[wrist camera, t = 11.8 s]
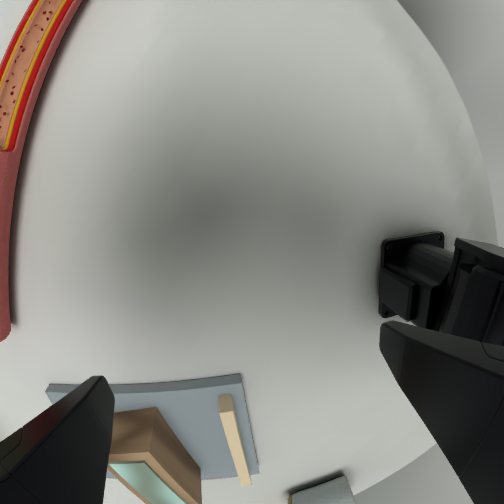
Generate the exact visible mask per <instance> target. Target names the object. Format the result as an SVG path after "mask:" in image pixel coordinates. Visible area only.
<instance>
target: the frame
mask: <svg viewBox="0 0 504 504" xmlns="http://www.w3.org/2000/svg"><path fill="white" fill-rule="evenodd" d="M107 469H108V470H109V471H110V472H111V473H112V474H113V475H114V476H115V477H116V478H117V479H118V480H119V481H120V482H121V483H122V484H123V485H125V486H126V487H127V488H128V489H129V490H130V491H131V492H133V493H134V494H135V495H136V496H137V497H138V498H140V499H141V500H142V501H143V502H144V503H146V504H202V495H201V468H200V467H199V466H198V464H197V463H196V462H195V461H194V459H193V458H192V457H191V455H190V454H189V453H188V452H187V450H186V449H185V447H184V446H183V445H182V443H181V442H180V441H179V439H178V438H177V436H176V435H175V434H174V432H173V431H172V429H171V428H170V426H169V425H168V424H167V422H166V421H165V419H164V418H163V416H162V415H161V413H160V412H159V410H158V408H157V407H150V408H143V409H136V410H129V411H122V412H114V419H113V434H112V442H111V448H110V454H109V461H108V467H107Z"/></svg>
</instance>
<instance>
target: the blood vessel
mask: <svg viewBox="0 0 504 504" xmlns="http://www.w3.org/2000/svg"><path fill="white" fill-rule="evenodd" d="M81 2H82V0H32V2H31V4H30V5H29V7H28V9H27V11H26V12H25V14H24V16H23V18H22V20H21V22H20V23H19V25H18V27H17V29H16V31H15V33H14V35H13V37H12V39H11V41H10V44H9V46H8V48H7V50H6V52H5V55H4V57H3V59H2V62H1V64H0V342H1V341H3V340H4V339H6V337H7V336H8V335H9V333H10V331H11V322H10V309H9V284H8V265H9V240H10V226H11V216H12V207H13V199H14V192H15V186H16V180H17V174H18V169H19V164H20V159H21V155H22V150H23V146H24V142H25V138H26V134H27V130H28V127H29V123H30V120H31V116H32V113H33V110H34V106H35V103H36V100H37V97H38V95H39V92H40V89H41V86H42V83H43V81H44V78H45V76H46V73H47V71H48V68H49V66H50V63H51V61H52V59H53V56H54V54H55V52H56V50H57V47H58V45H59V43H60V41H61V39H62V37H63V35H64V33H65V31H66V29H67V27H68V25H69V23H70V21H71V19H72V18H73V16H74V14H75V12H76V10H77V9H78V7H79V5H80V4H81Z"/></svg>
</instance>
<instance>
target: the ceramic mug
mask: <svg viewBox="0 0 504 504" xmlns="http://www.w3.org/2000/svg"><path fill="white" fill-rule="evenodd" d="M288 504H356V501H355V498H354V496H353V493H352V490H351V488H350V485H349V483H348V480H347V478H346V477H345V476H341V477H339V478H336V479H334V480H331V481H328V482H326V483H323V484H320V485H317V486H315V487H312V488H308V489H305V490H302V491H299V492H297V493H295V494H293V495H291V496H290V497H289V499H288Z"/></svg>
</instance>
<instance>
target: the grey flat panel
mask: <svg viewBox="0 0 504 504" xmlns="http://www.w3.org/2000/svg"><path fill="white" fill-rule="evenodd" d="M78 386H79V385H60V384H49V386H48V388H47V389H46V391H45V392H46V394H47V396H48V398H49V399H50V401H51V403H52V405H53V404H54V403H56V402H57V401H59V400H60V399H61V398H63V397H64V396H65V395H67V394H68V393H70V392H71V391H72V390H74V389H75V388H76V387H78ZM109 386H110V388H111V390H112V392H113V394H114V397H115V407H114V412H122V411H129V410H136V409H143V408H150V407H157V408H158V410H159V412H160V413H161V415H162V416H163V418H164V419H165V421H166V422H167V424H168V425H169V426H170V428H171V429H172V431H173V432H174V434H175V435H176V436H177V438H178V439H179V441H180V442H181V443H182V445H183V446H184V447H185V449H186V450H187V452H188V453H189V454H190V455H191V457H192V458H193V459H194V461H195V462H196V463H197V464H198V466H199V467H200V468H201V480H208V479H220V478H230V477H239V480H240V483H241V486H248V485H252V484H251V478H250V475H253V474H259V468H258V463H257V458H256V453H255V448H254V443H253V438H252V433H251V428H250V423H249V418H248V413H247V408H246V402H245V397H244V392H243V386H242V381H241V375H240V374H235V375H228V376H220V377H213V378H204V379H196V380H186V381H175V382H163V383H148V384H128V385H109ZM106 478H113V479H117V478H116V477H115V476H114V475H113V474H112V473H111V472H110V471H109V470H108V469H107V474H106Z"/></svg>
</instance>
